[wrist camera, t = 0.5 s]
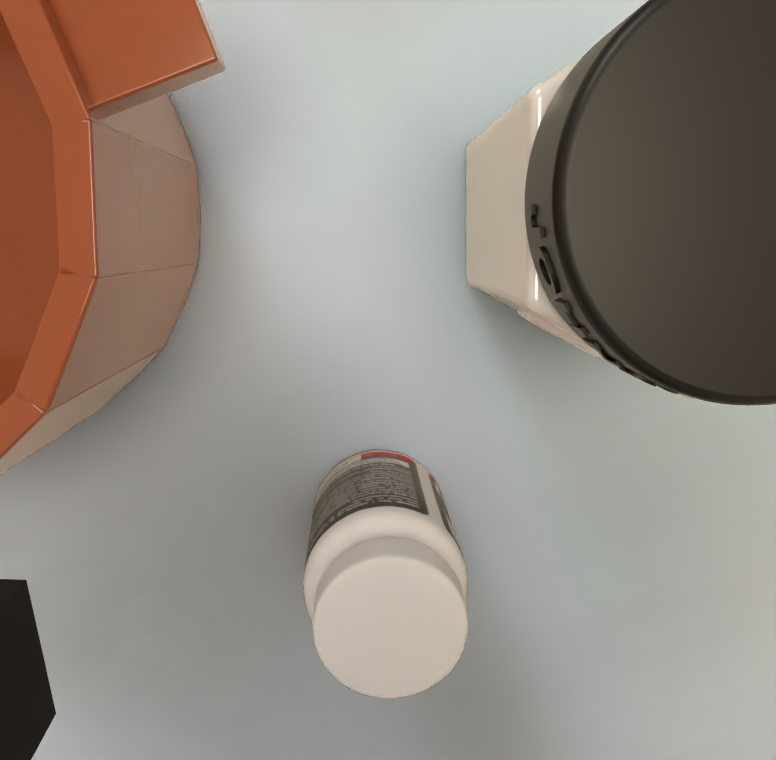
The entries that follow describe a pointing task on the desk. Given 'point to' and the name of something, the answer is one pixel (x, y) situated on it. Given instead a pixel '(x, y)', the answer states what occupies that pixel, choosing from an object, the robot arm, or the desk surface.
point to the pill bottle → (385, 577)
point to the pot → (91, 202)
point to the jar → (644, 200)
